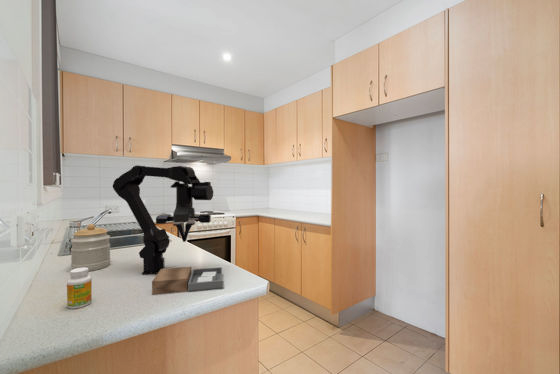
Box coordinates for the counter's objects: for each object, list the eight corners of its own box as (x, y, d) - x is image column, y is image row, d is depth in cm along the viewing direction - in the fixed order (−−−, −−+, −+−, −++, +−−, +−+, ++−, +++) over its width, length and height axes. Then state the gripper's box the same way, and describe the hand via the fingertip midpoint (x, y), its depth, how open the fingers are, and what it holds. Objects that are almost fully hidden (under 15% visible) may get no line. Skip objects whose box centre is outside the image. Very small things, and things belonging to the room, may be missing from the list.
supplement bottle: (72, 311, 68) (71, 274, 68) (63, 306, 70) (63, 270, 70) (95, 303, 72) (94, 268, 72) (86, 298, 75) (86, 265, 75)
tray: (188, 291, 79) (187, 283, 79) (192, 276, 93) (192, 269, 93) (222, 288, 82) (222, 280, 82) (222, 273, 95) (222, 267, 95)
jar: (86, 274, 96) (85, 227, 96) (62, 270, 100) (62, 225, 100) (118, 264, 109) (117, 222, 108) (96, 261, 113) (95, 221, 113)
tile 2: (212, 280, 81) (212, 287, 82) (212, 276, 86) (212, 282, 86) (197, 282, 80) (197, 288, 80) (198, 277, 85) (198, 283, 85)
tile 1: (214, 275, 86) (214, 281, 86) (216, 271, 90) (216, 277, 90) (200, 276, 85) (200, 282, 85) (203, 272, 90) (203, 277, 90)
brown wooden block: (152, 294, 77) (151, 281, 77) (161, 280, 89) (160, 268, 89) (187, 291, 80) (187, 278, 80) (191, 277, 91) (191, 266, 91)
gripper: (151, 201, 87) (151, 247, 87) (208, 201, 90) (208, 245, 90) (160, 199, 98) (160, 240, 98) (210, 199, 101) (210, 239, 101)
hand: (184, 241), depth 96 cm, fingers closed
